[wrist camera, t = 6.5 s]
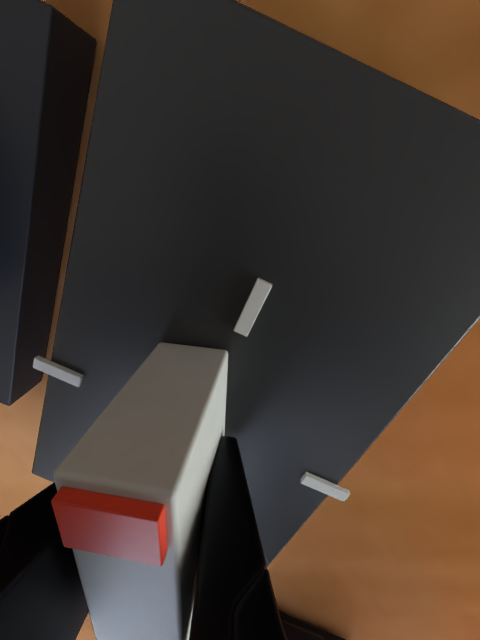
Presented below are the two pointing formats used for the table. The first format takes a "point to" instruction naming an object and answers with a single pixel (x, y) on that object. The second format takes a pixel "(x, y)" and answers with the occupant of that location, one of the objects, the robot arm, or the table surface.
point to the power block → (35, 174)
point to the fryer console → (264, 242)
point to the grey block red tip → (145, 494)
